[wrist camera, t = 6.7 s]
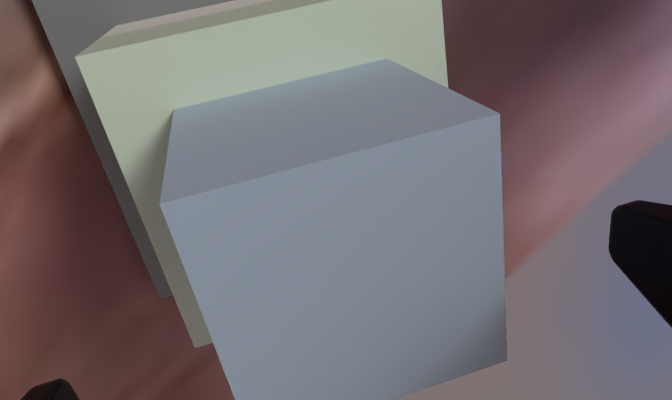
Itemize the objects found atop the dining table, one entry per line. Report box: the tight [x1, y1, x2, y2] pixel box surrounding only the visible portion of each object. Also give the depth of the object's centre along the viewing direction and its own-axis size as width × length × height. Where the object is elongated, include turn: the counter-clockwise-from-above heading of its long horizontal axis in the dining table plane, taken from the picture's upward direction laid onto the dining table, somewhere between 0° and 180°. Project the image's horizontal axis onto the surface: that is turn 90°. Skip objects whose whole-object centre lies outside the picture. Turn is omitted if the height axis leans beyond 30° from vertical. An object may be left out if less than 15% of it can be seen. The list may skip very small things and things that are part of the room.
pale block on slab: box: [32, 0, 448, 348], centre depth 15 cm, size 12×12×7 cm
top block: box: [160, 58, 507, 400], centre depth 10 cm, size 5×5×5 cm
